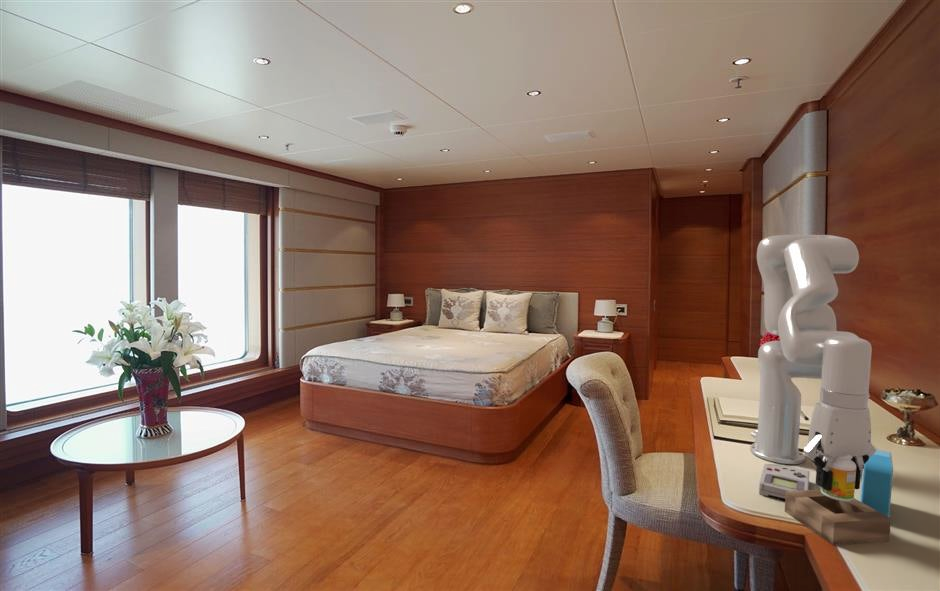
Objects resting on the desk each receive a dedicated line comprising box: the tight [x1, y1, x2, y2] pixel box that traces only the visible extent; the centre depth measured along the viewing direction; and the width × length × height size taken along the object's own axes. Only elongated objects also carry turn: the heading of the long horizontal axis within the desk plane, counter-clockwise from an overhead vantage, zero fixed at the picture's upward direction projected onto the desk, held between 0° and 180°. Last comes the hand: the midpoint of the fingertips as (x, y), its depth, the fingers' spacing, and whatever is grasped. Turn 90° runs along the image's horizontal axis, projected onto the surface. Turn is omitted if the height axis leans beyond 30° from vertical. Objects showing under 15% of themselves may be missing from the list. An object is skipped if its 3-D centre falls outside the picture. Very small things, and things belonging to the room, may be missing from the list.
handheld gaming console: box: [758, 463, 810, 499], centre depth 114 cm, size 9×4×15 cm
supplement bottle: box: [820, 455, 856, 502], centre depth 97 cm, size 5×5×10 cm
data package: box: [860, 448, 894, 518], centre depth 104 cm, size 12×4×12 cm, turn 141°
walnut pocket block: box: [784, 488, 892, 546], centre depth 98 cm, size 12×12×4 cm
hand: (837, 486), depth 97 cm, fingers closed on supplement bottle, 5 cm apart
